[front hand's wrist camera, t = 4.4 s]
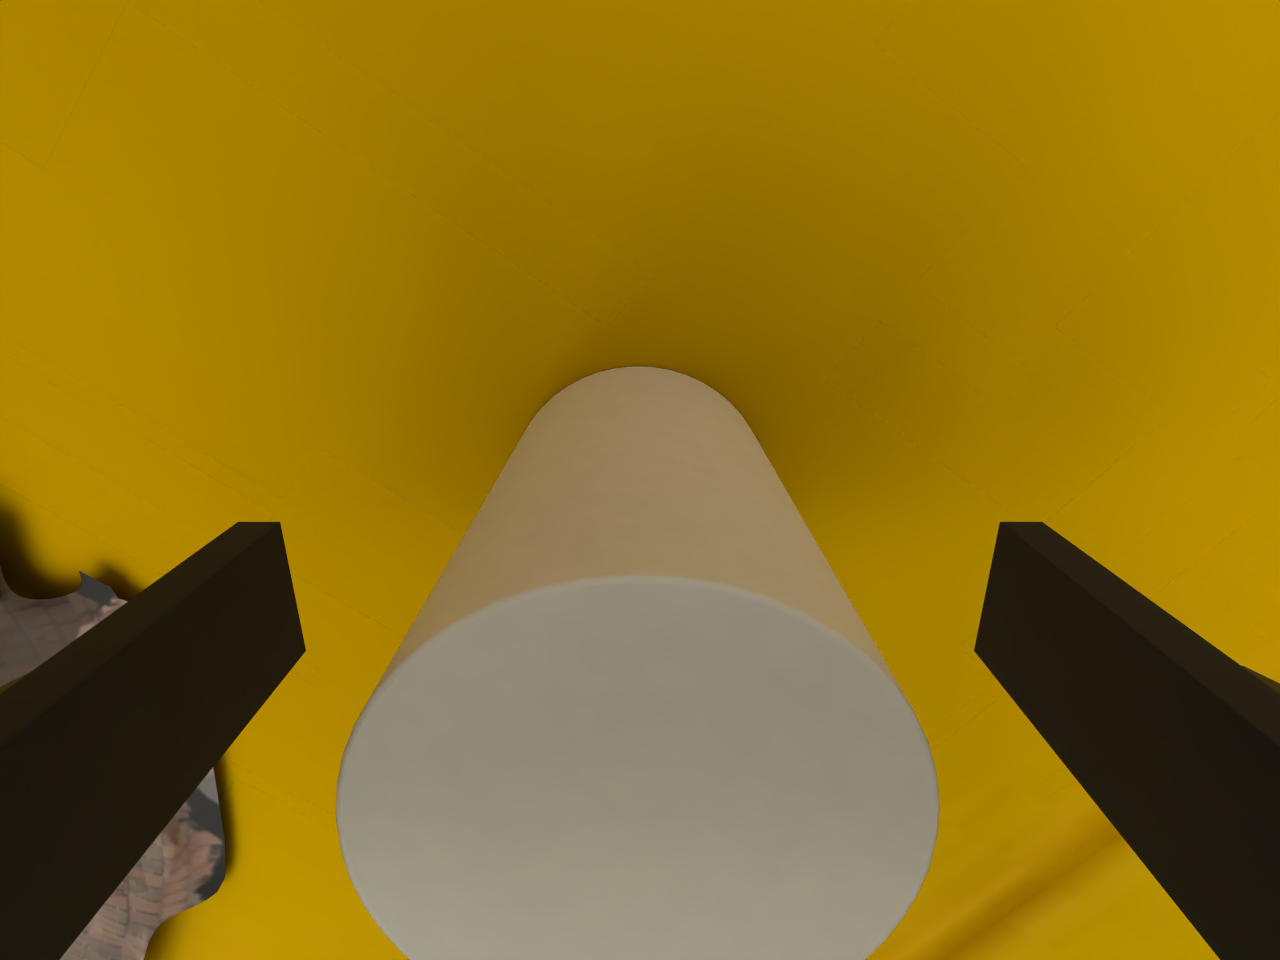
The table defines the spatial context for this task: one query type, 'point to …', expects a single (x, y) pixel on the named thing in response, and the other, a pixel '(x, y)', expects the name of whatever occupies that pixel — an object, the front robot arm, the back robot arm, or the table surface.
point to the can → (637, 714)
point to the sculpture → (190, 843)
